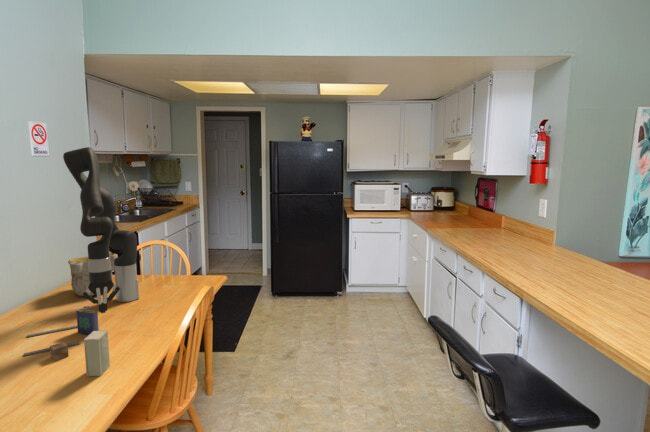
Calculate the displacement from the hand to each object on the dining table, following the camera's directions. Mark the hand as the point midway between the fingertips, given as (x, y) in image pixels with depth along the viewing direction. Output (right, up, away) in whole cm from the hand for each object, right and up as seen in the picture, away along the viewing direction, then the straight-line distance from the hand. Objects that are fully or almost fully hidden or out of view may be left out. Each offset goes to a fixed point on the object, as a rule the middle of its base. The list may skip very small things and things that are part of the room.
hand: (103, 312), depth 149 cm
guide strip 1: (-18, -7, -1) cm, 20 cm away
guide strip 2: (-9, -9, -15) cm, 20 cm away
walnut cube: (-3, -10, -20) cm, 23 cm away
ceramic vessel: (-32, -1, +46) cm, 56 cm away
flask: (-5, -8, -2) cm, 9 cm away
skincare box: (+16, -11, -29) cm, 35 cm away
